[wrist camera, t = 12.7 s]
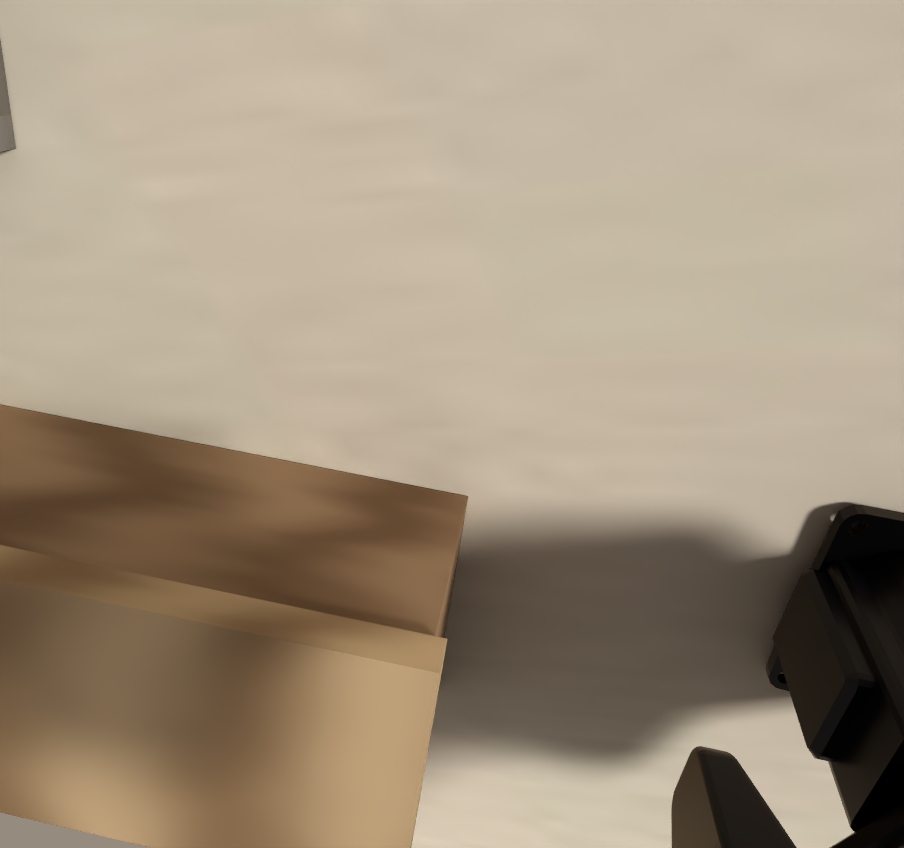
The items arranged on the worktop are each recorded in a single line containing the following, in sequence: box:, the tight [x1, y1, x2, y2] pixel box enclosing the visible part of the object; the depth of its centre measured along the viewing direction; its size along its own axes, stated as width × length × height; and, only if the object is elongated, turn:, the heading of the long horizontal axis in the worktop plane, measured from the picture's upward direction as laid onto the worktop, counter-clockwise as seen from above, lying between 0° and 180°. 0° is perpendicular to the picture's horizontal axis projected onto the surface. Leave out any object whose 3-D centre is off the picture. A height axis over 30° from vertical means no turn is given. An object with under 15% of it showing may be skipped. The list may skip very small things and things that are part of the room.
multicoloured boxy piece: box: [0, 41, 468, 848], centre depth 17 cm, size 22×25×7 cm
